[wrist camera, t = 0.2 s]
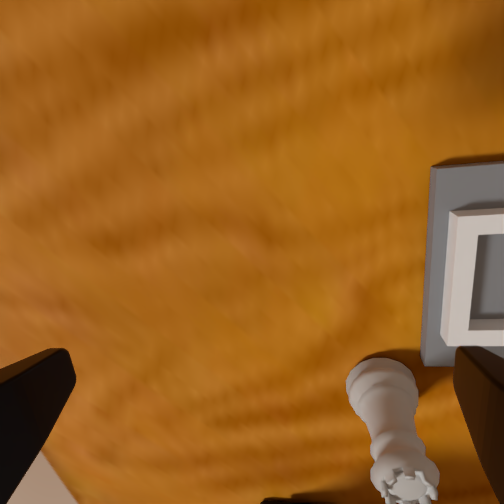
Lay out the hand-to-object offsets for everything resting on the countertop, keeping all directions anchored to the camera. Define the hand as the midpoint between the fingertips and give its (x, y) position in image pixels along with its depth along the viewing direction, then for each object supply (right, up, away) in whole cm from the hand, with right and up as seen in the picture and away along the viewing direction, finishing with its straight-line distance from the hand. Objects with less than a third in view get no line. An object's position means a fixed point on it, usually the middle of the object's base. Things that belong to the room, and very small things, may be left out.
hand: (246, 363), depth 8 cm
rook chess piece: (+9, -6, +16) cm, 20 cm away
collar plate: (+15, +2, +12) cm, 19 cm away
